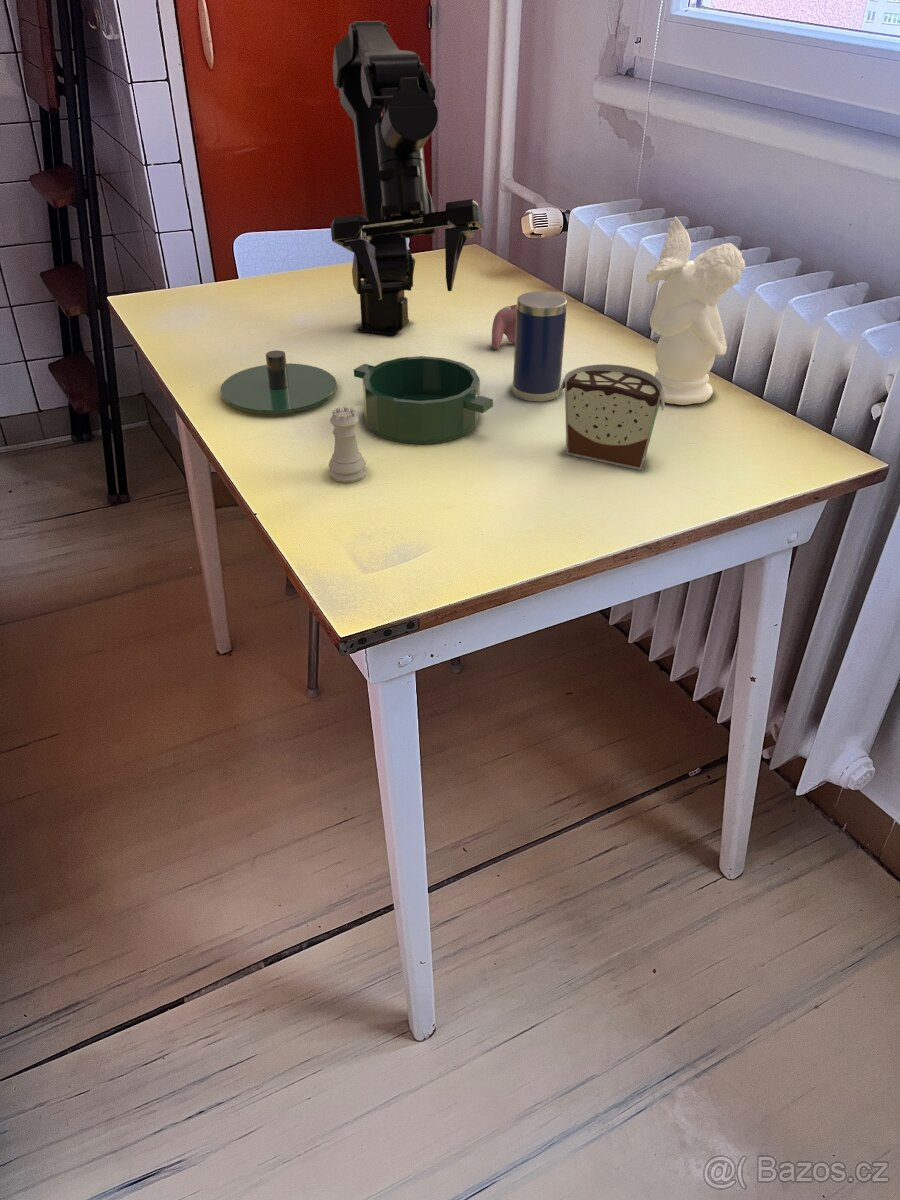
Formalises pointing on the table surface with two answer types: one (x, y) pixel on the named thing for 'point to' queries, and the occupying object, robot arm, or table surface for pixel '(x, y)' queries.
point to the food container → (611, 413)
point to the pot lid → (278, 386)
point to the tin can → (539, 345)
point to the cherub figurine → (690, 313)
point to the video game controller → (504, 325)
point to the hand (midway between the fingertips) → (414, 295)
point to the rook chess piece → (346, 448)
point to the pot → (421, 399)
